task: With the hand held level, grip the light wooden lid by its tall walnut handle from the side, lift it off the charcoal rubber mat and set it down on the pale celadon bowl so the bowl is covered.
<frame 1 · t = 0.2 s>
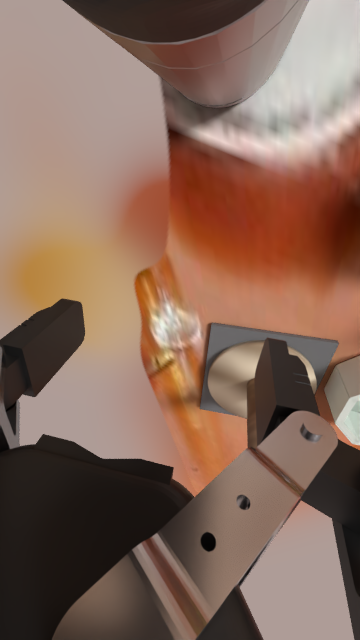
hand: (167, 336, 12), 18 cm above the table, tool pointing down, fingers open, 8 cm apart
lid: (259, 380, 35), resting on mat
mat: (259, 378, 35), on the table
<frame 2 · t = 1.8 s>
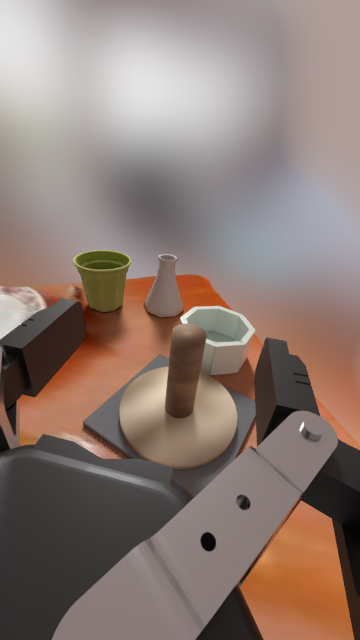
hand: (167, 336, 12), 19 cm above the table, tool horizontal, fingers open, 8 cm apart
bowl: (211, 351, 42), on the table
lid: (178, 412, 31), resting on mat
flask: (163, 309, 52), on the table
plant pot: (105, 305, 51), on the table
mat: (177, 414, 31), on the table
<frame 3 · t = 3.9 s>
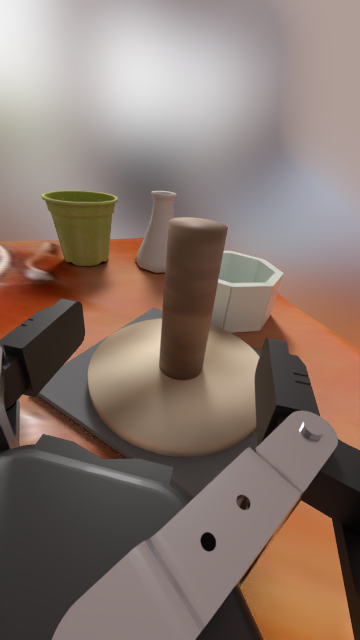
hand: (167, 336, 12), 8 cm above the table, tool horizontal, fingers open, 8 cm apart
bowl: (223, 307, 31), on the table
lid: (179, 374, 21), resting on mat
flask: (160, 266, 41), on the table
plant pot: (86, 260, 40), on the table
mat: (178, 379, 21), on the table
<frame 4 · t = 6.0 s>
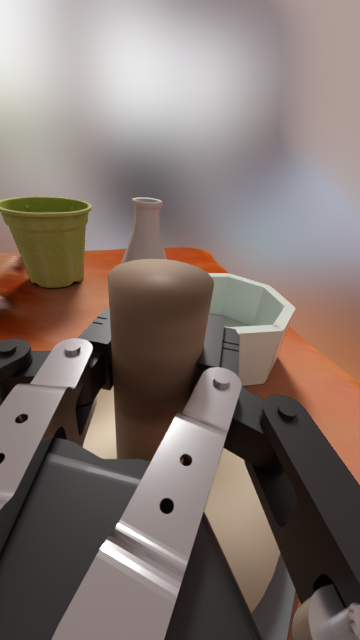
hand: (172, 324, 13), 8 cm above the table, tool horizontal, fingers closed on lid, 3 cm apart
bowl: (217, 346, 25), on the table
lid: (149, 474, 14), resting on mat, touching gripper
flask: (144, 286, 35), on the table
plant pot: (57, 279, 34), on the table
mat: (149, 479, 14), on the table
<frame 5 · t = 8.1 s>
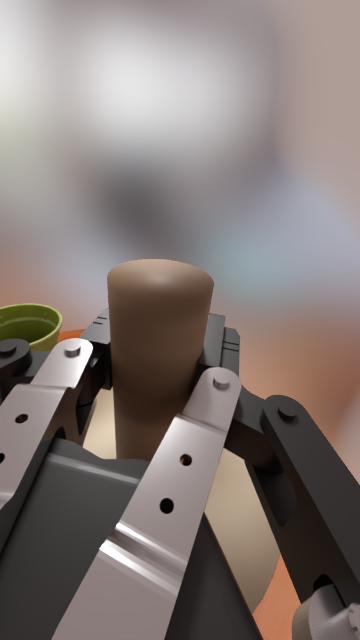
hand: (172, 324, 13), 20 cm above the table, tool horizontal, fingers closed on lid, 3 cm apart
lid: (149, 474, 14), point 12 cm above the table, touching gripper
plant pot: (32, 381, 35), on the table
when the fingers open (14 cm above the table, at t = 10.0 s): lid drops 1 cm, resting on bowl.
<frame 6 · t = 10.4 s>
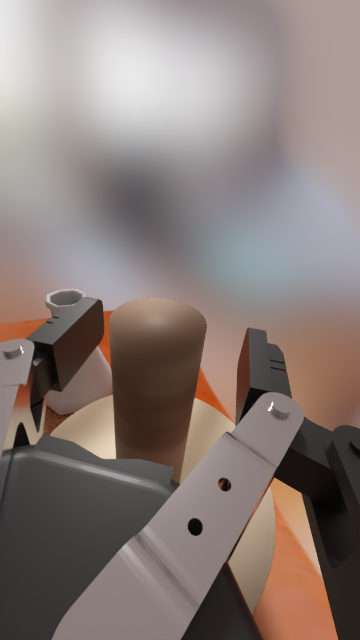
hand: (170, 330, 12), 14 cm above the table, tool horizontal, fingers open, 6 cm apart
lid: (148, 491, 15), point 5 cm above the table, touching bowl
flask: (78, 387, 27), on the table
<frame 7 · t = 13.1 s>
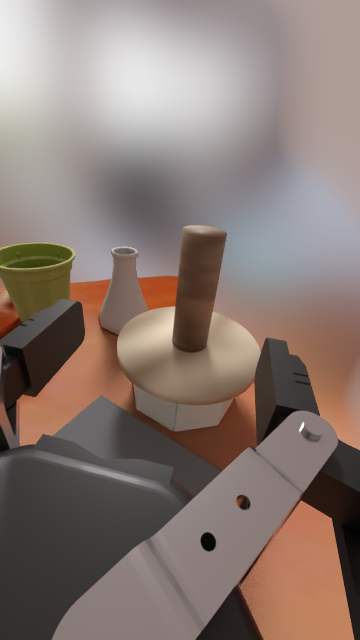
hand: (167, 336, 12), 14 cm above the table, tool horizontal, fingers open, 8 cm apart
bowl: (182, 387, 28), on the table
lid: (188, 350, 26), point 5 cm above the table, touching bowl
flask: (125, 322, 38), on the table
plant pot: (45, 317, 37), on the table
mat: (106, 519, 18), on the table
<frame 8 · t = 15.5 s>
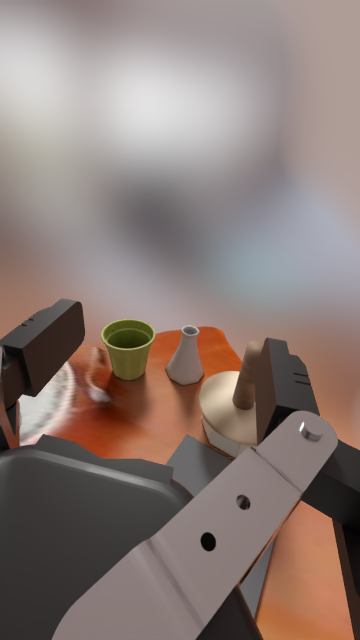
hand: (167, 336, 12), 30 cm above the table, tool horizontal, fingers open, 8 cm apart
bowl: (234, 426, 44), on the table
lid: (241, 405, 41), point 5 cm above the table, touching bowl
flask: (184, 373, 54), on the table
plant pot: (128, 370, 53), on the table
mat: (210, 509, 33), on the table
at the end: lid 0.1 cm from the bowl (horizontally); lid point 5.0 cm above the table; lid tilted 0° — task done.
